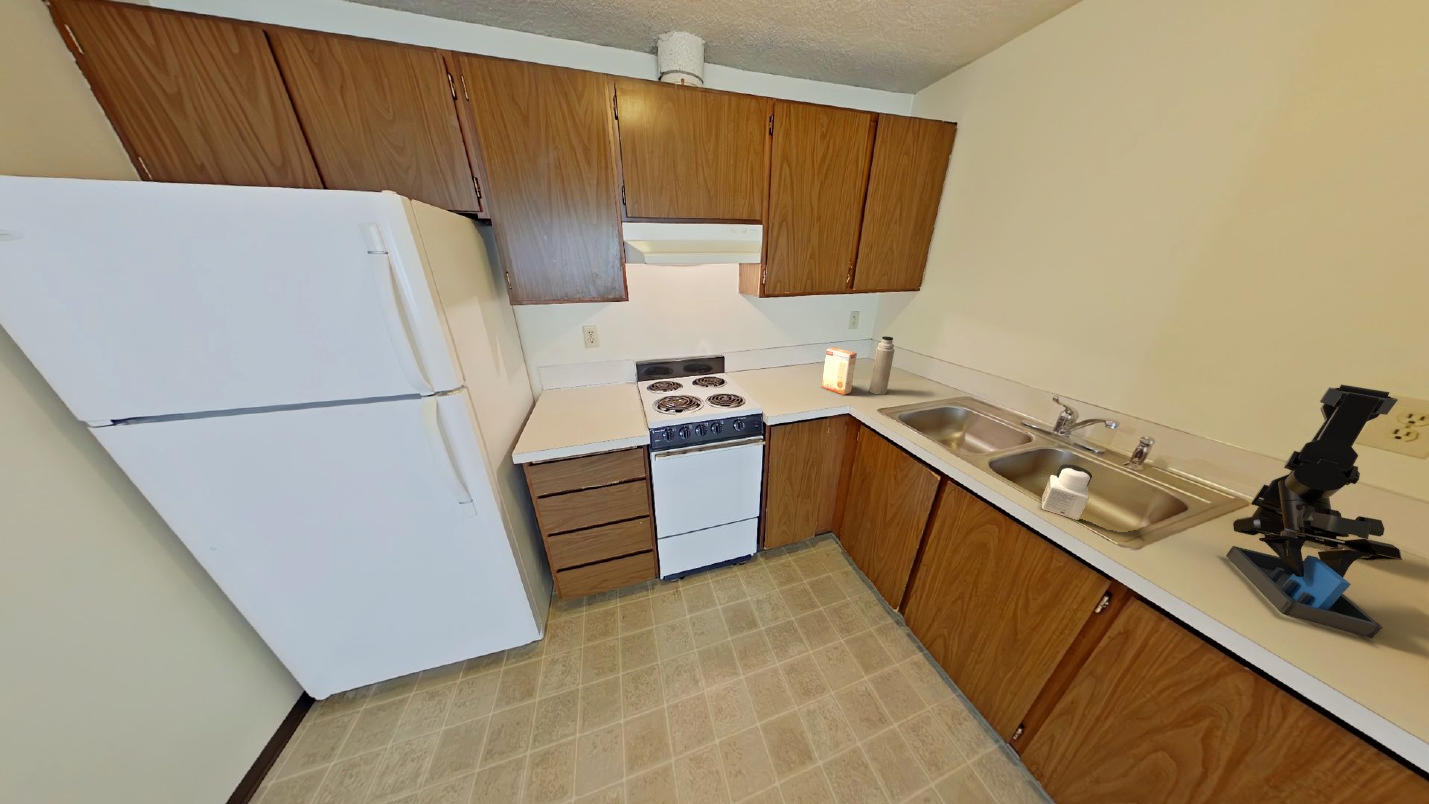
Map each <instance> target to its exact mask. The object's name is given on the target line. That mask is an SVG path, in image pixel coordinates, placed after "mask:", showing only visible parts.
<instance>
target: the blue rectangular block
mask: <svg viewBox="0 0 1429 804" xmlns="http://www.w3.org/2000/svg"><path fill="white" fill-rule="evenodd" d="M1303 566H1304V577H1297V576H1295V575H1294V573H1293V574H1292V575H1291V577H1290V578H1289V579H1292V580H1295V581H1297V582H1298V584H1297V585H1296V587H1295V588H1294V589H1293V590H1292V591H1291V593H1290V595H1291V596H1292V597H1293V598H1294V599H1295V600H1297V599H1298V598H1299V597H1300V596H1301V595H1302V593H1303V592H1307V593H1310V594H1311V595H1312V596H1313V597H1312V598H1311V599H1310V600H1309V601H1308V602H1307V603H1306V605H1309V606H1313V607H1317V608H1320V609H1324V610H1328V609H1329V608H1330V607H1331V606H1332V605H1333V604H1334V602H1335V601H1336V600H1337V599H1338V598H1339V597H1340V596H1341V595H1342V594H1344V593H1345V592H1346V591H1347V590H1348V588H1349V587H1350V586H1352V584H1351V583H1350V581H1348V580H1347V579H1345V578H1344V577H1341V576H1340V575H1339V574H1338V573H1336V572H1335V571H1334V570H1332V569H1331V568H1330V567H1329V566H1327V565H1326V564H1325V563H1324V562H1322V561H1321V560H1320V558H1319V557H1317V556H1314V555H1309V554H1308V555H1307V556H1305V558H1304V559H1303ZM1289 579H1288V580H1287V581H1286V583H1287V582H1288V581H1289ZM1286 583H1285V584H1286ZM1285 584H1284V585H1283V586H1282V587H1284V586H1285Z"/></svg>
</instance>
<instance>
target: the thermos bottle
mask: <svg viewBox="0 0 1429 804" xmlns="http://www.w3.org/2000/svg"><path fill="white" fill-rule="evenodd" d="M893 340H894V337H892V336H888V335H887V336H882V337H881V341H880V342H879V343H878V346H877V347H876V351H875V357H874V361H873V366H872V373H871V379H870V383H869V384H870V385H869V392H870V393H871V394H874V395H875V394H876V395H886V394H887V391H888V385H889V381H890V376H891V371H892V365H893V361H894V360H893V359H894V355H895V348H894V347H895V344H894V343H893Z"/></svg>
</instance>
